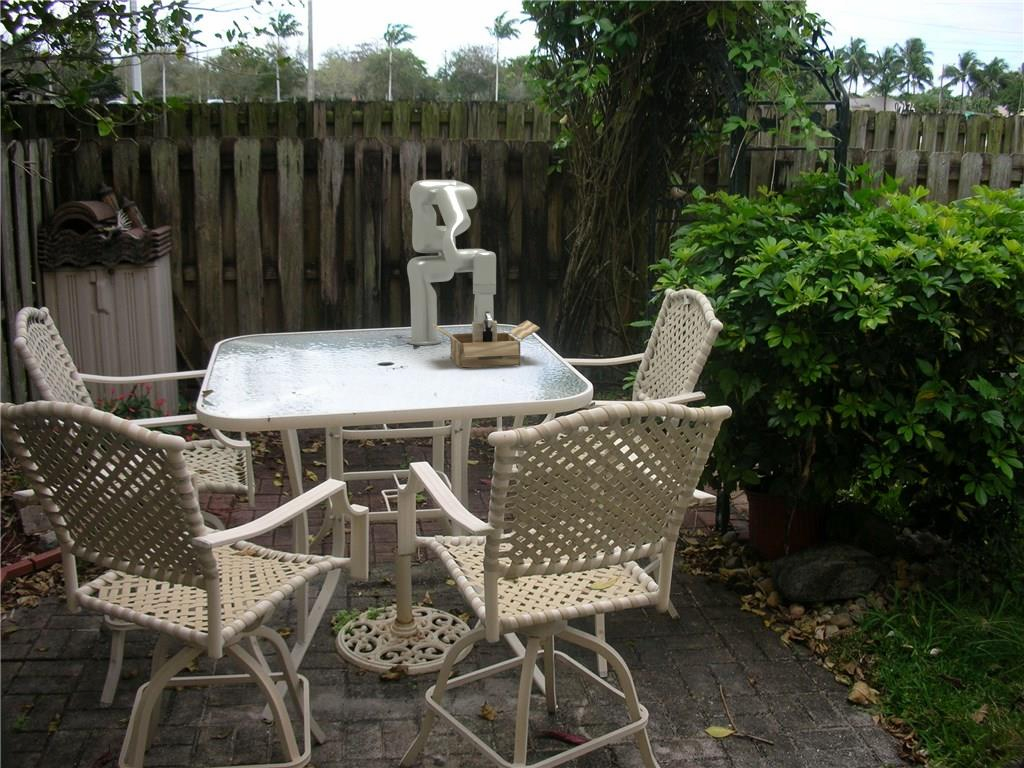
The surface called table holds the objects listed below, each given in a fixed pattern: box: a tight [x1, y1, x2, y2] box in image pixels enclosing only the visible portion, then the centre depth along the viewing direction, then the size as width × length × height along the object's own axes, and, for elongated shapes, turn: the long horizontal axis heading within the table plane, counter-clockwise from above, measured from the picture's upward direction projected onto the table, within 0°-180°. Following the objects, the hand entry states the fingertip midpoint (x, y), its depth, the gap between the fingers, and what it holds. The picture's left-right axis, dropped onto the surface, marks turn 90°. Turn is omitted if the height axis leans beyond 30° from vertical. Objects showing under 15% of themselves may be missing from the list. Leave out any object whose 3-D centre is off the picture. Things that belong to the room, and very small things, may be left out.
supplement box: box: [471, 320, 498, 343], centre depth 321 cm, size 8×5×13 cm, turn 92°
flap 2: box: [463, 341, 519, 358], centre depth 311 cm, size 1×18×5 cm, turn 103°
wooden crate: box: [449, 332, 521, 369], centre depth 321 cm, size 17×20×8 cm
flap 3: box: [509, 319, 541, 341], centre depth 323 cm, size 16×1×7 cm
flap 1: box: [431, 323, 458, 342], centre depth 317 cm, size 16×1×7 cm
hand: (484, 340), depth 321 cm, fingers open, 9 cm apart
